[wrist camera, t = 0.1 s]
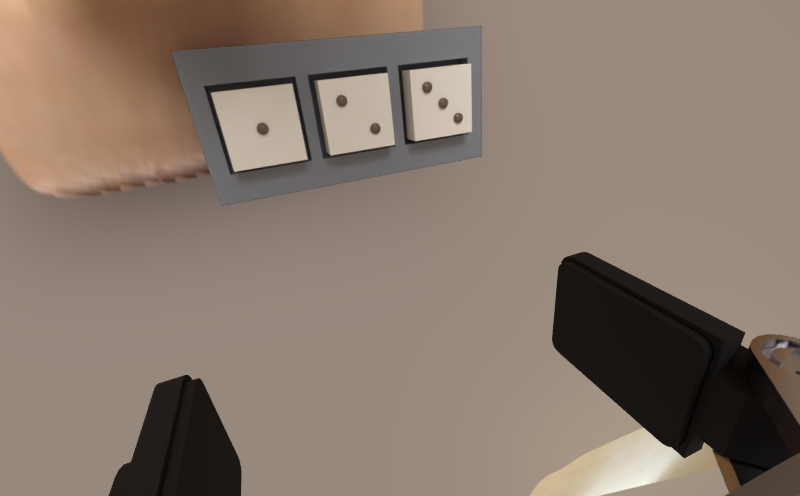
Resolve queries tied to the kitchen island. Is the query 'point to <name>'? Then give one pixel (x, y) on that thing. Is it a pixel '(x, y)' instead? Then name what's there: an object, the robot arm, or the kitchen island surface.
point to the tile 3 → (437, 101)
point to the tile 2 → (355, 113)
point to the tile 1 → (260, 126)
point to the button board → (301, 69)
